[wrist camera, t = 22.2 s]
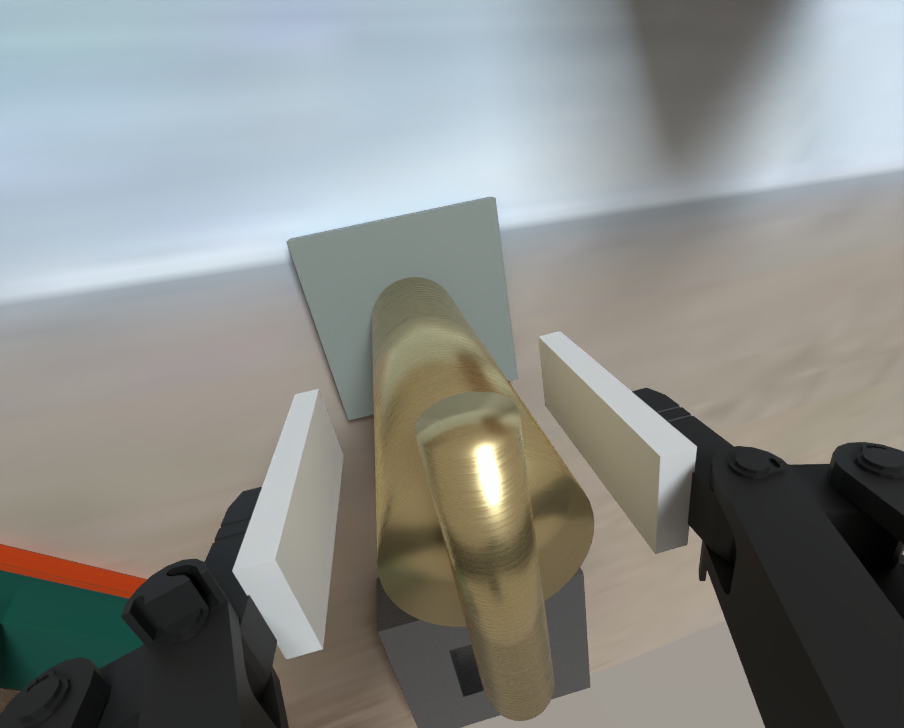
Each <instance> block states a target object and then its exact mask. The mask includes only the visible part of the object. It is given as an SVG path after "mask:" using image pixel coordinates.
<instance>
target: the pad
mask: <svg viewBox="0 0 904 728" xmlns="http://www.w3.org/2000/svg"><path fill="white" fill-rule="evenodd" d="M287 245H288V248H289V251H290V253H291V256H292V259H293V262H294V265H295V268H296V271H297V274H298V276H299V279H300V282H301V285H302V288H303V291H304V294H305V297H306V300H307V302H308V305H309V308H310V311H311V314H312V317H313V320H314V323H315V325H316V328H317V331H318V334H319V337H320V340H321V343H322V346H323V349H324V351H325V354H326V357H327V360H328V363H329V366H330V369H331V372H332V374H333V377H334V380H335V383H336V386H337V389H338V392H339V395H340V398H341V400H342V403H343V406H344V409H345V412H346V415H347V418H348V421H349V420H353V419H357V418H361V417H365V416H369V415H373V414H374V392H373V348H372V312H373V307H374V305H375V302H376V300H377V298H378V297H379V295H380V294H381V293H382V292H383V290H384V289H385V288H387V287H388V286H389V285H391V284H392V283H394V282H396V281H398V280H401V279H404V278H410V277H420V278H425V279H429V280H432V281H434V282H436V283H437V284H439V285H440V286H442V287H443V288H444V289H445V290H446V291H447V292H448V294H449V295H450V296H451V298H452V299H453V301H454V302H455V304H456V305H457V307H458V308H459V310H460V311H461V312H462V314H463V315H464V317H465V318H466V320H467V321H468V323H469V324H470V326H471V327H472V329H473V330H474V332H475V333H476V334H477V336H478V337H479V339H480V340H481V342H482V343H483V345H484V346H485V348H486V349H487V351H488V352H489V353H490V355H491V356H492V358H493V359H494V361H495V362H496V364H497V365H498V367H499V368H500V370H501V371H502V373H503V374H504V375H505V377H506V378H507V380H508V381H512V380H516V379H518V375H517V367H516V359H515V351H514V343H513V335H512V327H511V319H510V311H509V303H508V295H507V287H506V279H505V271H504V263H503V255H502V247H501V239H500V231H499V223H498V215H497V207H496V199H495V198H494V197H487V198H482V199H477V200H472V201H468V202H463V203H458V204H453V205H449V206H444V207H439V208H434V209H430V210H425V211H420V212H415V213H411V214H406V215H401V216H396V217H391V218H387V219H382V220H377V221H372V222H368V223H363V224H358V225H353V226H349V227H344V228H339V229H334V230H330V231H325V232H320V233H315V234H310V235H306V236H301V237H296V238H291V239H289V240H288V241H287Z"/></svg>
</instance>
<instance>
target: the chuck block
mask: <svg viewBox="0 0 904 728" xmlns="http://www.w3.org/2000/svg"><path fill="white" fill-rule="evenodd" d="M544 604H545V612H546V619H547V627H548V635H549V642H550V650H551V658H552V665H553V673H554V691H553V695H552V698H551V699H554V698H557V697H560V696H564V695H567V694H570V693H573V692H577V691H580V690H583V689H586V688H590V675H589V658H588V642H587V625H586V609H585V592H584V576H583V572H582V570H581V568H579V569H578V570H577V572H576V573H575V574H574V576H573V577H572V578H571V579H570V580H569V581H568V582H567V583H566V584H565V585H564V586H563V587H562V588H561V589H560V590H559V591H558V592H556V593H555V594H554V595H553V596H551V597H550V598H549V599H547V600H546V601H544ZM377 632H378V635H379V637H380V639H381V642H382V644H383V647H384V649H385V651H386V654H387V656H388V658H389V661H390V663H391V665H392V668H393V670H394V672H395V675H396V677H397V680H398V682H399V684H400V687H401V689H402V691H403V694H404V696H405V698H406V701H407V703H408V705H409V708H410V710H411V713H412V715H413V717H414V720H415V722H416V724H417V727H418V728H460V727H463V726H467V725H470V724H473V723H476V722H479V721H483V720H486V719H489V718H492V717H496V716H498V715H500V714H499V713H498V712H497V711H496V710H495V709H494V708H493V707H492V706H491V705H490V703H489V701H488V700H487V698H486V695H485V693H484V689H483V685H482V682H481V678H480V674H479V670H478V667H477V663H476V659H475V655H474V652H473V648H472V644H471V641H470V637H469V633H468V629H467V627H451V626H441V625H437V624H432V623H428V622H425V621H422V620H419V619H417V618H415V617H413V616H411V615H409V614H407V613H406V612H404V611H403V610H401V609H400V608H399V607H398V606H397V605H396V604H395V603H394V602H392V600H391V599H390V598H389V596H388V595H387V594H386V592H385V590H384V588H383V586H382V584H381V581H380V578H377Z"/></svg>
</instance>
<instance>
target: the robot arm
mask: <svg viewBox="0 0 904 728" xmlns="http://www.w3.org/2000/svg"><path fill="white" fill-rule="evenodd" d="M539 346H540V357H541V367H542V378H543V388H544V399H545V406H546V407H547V408H548V410H549V411H550V413H551V414H552V415H553V417H554V418H555V419H556V421H557V422H558V423H559V425H560V426H561V427H562V429H563V430H564V431H565V433H566V434H567V435H568V437H569V438H570V439H571V441H572V442H573V444H574V445H575V446H576V448H577V449H578V450H579V452H580V453H581V454H582V456H583V457H584V458H585V460H586V461H587V462H588V464H589V465H590V466H591V468H592V469H593V471H594V472H595V473H596V475H597V476H598V477H599V479H600V480H601V481H602V483H603V484H604V485H605V487H606V488H607V489H608V491H609V492H610V493H611V495H612V496H613V497H614V499H615V500H616V502H617V503H618V504H619V506H620V507H621V508H622V510H623V511H624V512H625V514H626V515H627V516H628V518H629V519H630V520H631V522H632V523H633V524H634V526H635V527H636V528H637V530H638V531H639V533H640V534H641V535H642V537H643V538H644V539H645V541H646V542H647V543H648V545H649V546H650V547H651V549H652V550H653V551H654V553H655V554H657V553H660V552H664V551H667V550H671V549H674V548H678V547H681V546H685V545H687V543H688V533H689V526H690V527H691V528H692V529H693V530H694V531H695V532H696V533H697V534H698V536H699V537H700V538H701V539H702V547H701V556H700V564H699V580H700V581H705V579H706V572H707V571H708V573H709V576H710V579H711V581H712V584H713V587H714V590H715V592H716V595H717V598H718V600H719V603H720V606H721V609H722V611H723V614H724V617H725V619H726V622H727V625H728V627H729V630H730V633H731V636H732V638H733V641H734V644H735V646H736V649H737V652H738V655H739V657H740V660H741V663H742V665H743V668H744V671H745V674H746V676H747V679H748V682H749V685H750V687H751V690H752V693H753V695H754V698H755V701H756V704H757V706H758V709H759V712H760V714H761V717H762V720H763V722H764V725H765V728H904V555H903V554H902V553H903V551H904V452H903V451H901V450H898V449H895V448H891V447H888V446H885V445H880V444H873V443H866V442H856V443H847V444H844V445H841V446H838V447H837V448H836V450H835V451H834V452H833V455H832V458H831V462H830V464H804V465H788V464H787V463H786V462H784V461H783V460H782V459H781V458H779V457H777V456H775V455H773V454H771V453H769V452H767V451H764V450H760V449H757V448H753V447H742V446H735V447H734V446H732V445H731V444H730V443H728V442H727V441H726V440H725V439H723V438H722V437H721V436H719V435H718V434H717V433H715V432H714V431H713V430H711V429H710V428H709V427H707V426H706V425H705V424H703V423H702V422H701V421H699V420H698V419H697V418H695V417H694V416H691V414H690V413H689V412H687V411H686V410H685V409H684V408H682V407H681V408H680V407H679V405H678V404H677V403H676V402H674V401H673V400H672V399H670V398H669V397H668V396H666V395H665V394H662V393H659V392H657V391H654V390H651V389H649V388H644V389H640V390H636V391H630V390H629V389H628V388H627V387H626V386H624V385H623V384H622V383H621V382H620V381H619V380H617V379H616V378H615V377H614V376H613V375H611V374H610V373H609V372H608V371H607V370H606V369H604V368H603V367H602V366H601V365H600V364H598V363H597V362H596V361H595V360H594V359H592V358H591V357H590V356H589V355H588V354H587V353H585V352H584V351H583V350H582V349H581V348H579V347H578V346H577V345H576V344H575V343H573V342H572V341H571V340H570V339H569V338H568V337H566V336H565V335H564V334H563V333H562V332H560V331H559V332H555V333H551V334H547V335H543V336H539ZM343 458H344V456H343V453H342V450H341V447H340V445H339V442H338V439H337V437H336V434H335V431H334V429H333V426H332V423H331V420H330V418H329V415H328V412H327V410H326V407H325V404H324V402H323V399H322V396H321V393H320V391H319V389H316V390H312V391H308V392H304V393H300V394H295V396H294V399H293V402H292V405H291V408H290V410H289V413H288V416H287V419H286V422H285V424H284V427H283V430H282V433H281V436H280V438H279V441H278V444H277V447H276V450H275V452H274V455H273V458H272V461H271V464H270V466H269V469H268V472H267V475H266V478H265V480H264V483H263V486H262V487H259V488H255V489H251V490H247V491H243V492H242V493H241V494H240V495H239V496H238V497H237V499H236V500H235V501H234V502H233V503H232V504H231V506H230V507H229V508H228V510H227V512H226V514H225V517H224V519H223V521H222V523H221V528H220V529H219V530H218V533H217V535H216V537H215V543H213V544H212V546H211V549H210V551H209V553H208V556H207V558H206V560H205V562H203V561H200V560H198V559H187V560H181V561H179V562H176V563H174V564H171V565H168V566H166V567H165V568H163V569H162V570H160V571H158V572H157V573H155V574H154V575H152V576H151V577H150V578H149V579H147V580H146V581H145V582H144V583H143V584H142V585H141V586H139V587H138V588H137V589H136V591H135V592H134V593H133V595H132V596H131V597H130V599H129V600H128V601H127V602H126V604H125V607H124V609H123V612H122V615H121V618H122V619H123V620H124V621H125V622H126V623H127V625H128V626H129V627H130V628H131V629H132V631H133V632H134V633H135V634H136V635H137V636H138V638H139V639H140V640H141V641H142V642H143V644H144V645H142V646H140V647H139V648H137V649H135V650H133V651H131V652H129V653H128V654H126V655H124V656H122V657H120V658H118V659H117V660H115V661H113V662H111V663H109V664H107V665H105V666H104V667H102V668H100V669H99V668H98V667H97V666H96V665H95V664H94V663H93V662H92V661H91V660H89V659H85V658H82V657H78V658H74V659H69V660H65V661H63V662H61V663H59V664H57V665H55V666H53V667H51V668H49V669H47V670H46V671H45V672H43V673H42V674H41V675H39V676H38V677H37V678H35V679H34V680H33V681H31V682H30V683H28V684H27V685H26V686H25V687H24V688H23V689H22V690H21V691H20V692H19V693H18V694H17V695H16V696H15V697H14V698H13V699H12V700H11V701H10V702H9V704H8V705H7V706H6V708H5V709H4V710H3V712H2V713H1V714H0V728H289V727H288V721H287V716H286V711H285V706H284V701H283V696H282V691H281V686H280V681H279V678H278V676H277V674H276V672H275V670H274V669H273V667H272V664H273V659H274V654H275V649H276V645H278V647H279V648H280V650H281V652H282V653H283V655H284V657H285V658H286V660H287V659H291V658H294V657H298V656H301V655H305V654H308V653H311V652H315V651H318V650H322V649H323V645H324V636H325V626H326V617H327V608H328V598H329V589H330V580H331V570H332V561H333V551H334V542H335V533H336V523H337V514H338V505H339V495H340V486H341V476H342V467H343Z"/></svg>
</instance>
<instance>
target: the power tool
mask: <svg viewBox="0 0 904 728" xmlns="http://www.w3.org/2000/svg"><path fill="white" fill-rule="evenodd" d="M146 580H147V579H143V578H139V577H135V576H131V575H127V574H123V573H118V572H114V571H110V570H106V569H102V568H98V567H94V566H89V565H85V564H81V563H77V562H73V561H69V560H65V559H60V558H56V557H52V556H48V555H44V554H40V553H36V552H31V551H27V550H23V549H19V548H15V547H11V546H6V545H2V544H0V688H5V689H12V690H19V691H21V690H22V689H23V688H24V687H25V686H26V685H27V684H28V683H30V682H31V681H33V680H34V679H35V678H37V677H38V676H39V675H41V674H42V673H43V672H45V671H46V670H47V669H49V668H51V667H53V666H55V665H57V664H59V663H61V662H63V661H65V660H69V659H74V658H78V657H82V658H85V659H89V660H91V661H92V662H93V663H94V664H95V665H96V666H97V667H98V668H99V669H100V668H102V667H104V666H105V665H107V664H109V663H111V662H113V661H115V660H117V659H118V658H120V657H122V656H124V655H126V654H128V653H129V652H131V651H133V650H135V649H137V648H139V647H140V646H142V645H144V644H143V642H142V641H141V640H140V639H139V638H138V636H137V635H136V634H135V633H134V632H133V631H132V629H131V628H130V627H129V626H128V625H127V623H126V622H125V621H124V620H123V619H122V618H121V615H122V612H123V609H124V607H125V604H126V602H127V601H128V600H129V599H130V597H131V596H132V595H133V593H134V592H135V591H136V589H137V588H138V587H139V586H141V585H142V584H143V583H144V582H145V581H146Z"/></svg>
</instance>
